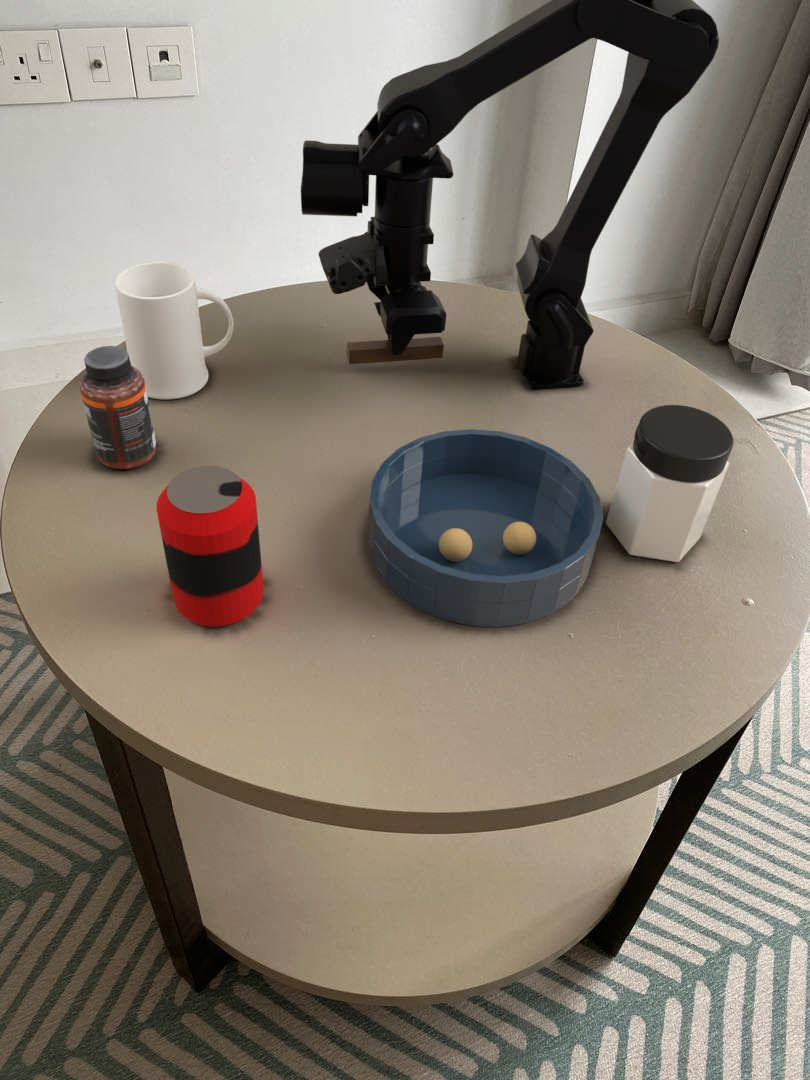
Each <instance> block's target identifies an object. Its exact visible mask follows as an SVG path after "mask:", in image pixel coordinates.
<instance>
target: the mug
mask: <svg viewBox="0 0 810 1080" xmlns="http://www.w3.org/2000/svg"><path fill="white" fill-rule="evenodd" d="M114 289H115V293H116V299H117V304H118V309H119V314H120V320H121V325H122V330H123V336H124V342H125V347H126V351H127V352H128V354H129V359H130V362H131V366H133V367H135V368H137V369H138V370H139V371H140V372H141V374H142V375H143V378H144V381H145V386H146V391H147V396H148V399H149V398H150V399H154V400H164V401H165V400H177V399H183V398H186V397H189V396H191V395H194V394H195V393H197V392H199V391H201V389H203V388H204V387H205V386H206V384H207V383H208V381H209V378H210V377H209V374H210V373H209V370H208V368H207V365H206V358H207V357H210V356H214V355H215V354H217V353H219V352H220V351H221V350H224V348H225V347H226V346H227V345H228V343H229V342H230V340H231V338H232V336H233V333H234V327H235V325H234V317H233V314H232V311H231V309H230V307H229V306H228V304H227V303H226V302H225V301H224V300H223V299H222V298H221V297H220V296H218V294H216V293H214V292H212V291H210V290H207V289H204V288H201V287H198V286H197V285H196V278H195V275H194V273H193V272H192V271H191V270H190V269H189V268H187V267H185V266H182V265H180V264H177V263H171V262H162V261H161V262H160V261H157V262H156V261H154V262H146V263H145V262H144V263H140V264H136V265H133V266H132V265H131V266H130V267H128V268H126V269H124V270H122V271H120V272H119V274H117V275H116V276H115V279H114ZM199 300H207V301H210V302H213V303H215V304H216V305H218V306H219V307H220V308H221V309H222V310H223V311H224V312H225V314H226V316H227V319H228V329H227V332H226V334H225V336H224V337H223V338H222V339H221V340H220V341H219V342H216V343H215V344H213V345H208V346H207V345H205V346H204V344H203V335H202V327H201V320H200V318H201V317H200V311H199V302H198V301H199Z"/></svg>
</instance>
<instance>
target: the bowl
mask: <svg viewBox="0 0 810 1080" xmlns="http://www.w3.org/2000/svg"><path fill="white" fill-rule="evenodd" d="M602 508H603V507H602V503H601V498H600V495H599V494H598V492H597V490H596V488H595V486H594V485H593V483H592V481H591V479H590V478H589V477H588V476H587V475H586V474H585V473H584V471H582V470H581V469H580V468H579V467H578V466H577V465H576V464H575V463H574V462H573V461H572V460H570V459H569V458H567V457H566V456H565V455H563V454H561V453H560V452H558V451H557V450H555V449H554V448H552V447H549V446H547V445H544V444H542V443H540V442H538V441H535V440H532V439H531V438H528V437H525V436H522V435H517V434H514V433H513V434H512V433H508V432H503V431H500V430H487V429H473V428H467V429H455V430H445V431H440V432H436V433H431V434H429V435H425V436H421V437H418V438H416V439H414V440H412V441H410V442H409V443H406V444H404V445H402V446H400V447H398V448H397V449H396V450H395V451H394V452H393V453H391V454H390V455H389V456H388V457H387V458H386V459H385V460H384V461H383V462H381V464H380V466H379V467H378V469H377V471H376V473H375V475H374V476H373V478H372V480H371V486H370V493H369V505H368V529H367V530H368V532H367V533H368V535H367V540H368V547H369V553H370V557H371V559H372V563H373V566H374V567H375V569H376V571H377V572H378V574H379V576H380V577H381V579H382V580H383V581H384V583H386V585H387V587H389V588H390V589H391V590H392V591H393V592H394V593H395V594H396V595H397V596H398V597H400V598H401V599H403V601H406V603H408V604H410V605H412V606H413V607H415V608H417V609H418V610H420V611H422V612H424V613H426V614H428V615H431V616H433V617H435V618H439V619H441V620H444V621H447V622H452V623H456V624H461V625H465V626H473V627H481V628H500V627H501V628H502V627H513V626H518V625H524V624H528V623H531V622H534V621H535V622H536V621H538V620H541V619H543V618H546V617H547V616H550V615H552V614H554V613H556V612H557V611H559V610H561V609H562V608H563V607H565V606H566V605H567V604H568V603H569V602H571V601H572V600H573V599H574V598H575V596H576V595H578V593H579V592H580V591H581V589H582V588H583V586H584V584H585V582H586V580H587V578H588V576H589V573H590V569H591V566H592V562H593V559H594V555H595V551H596V548H597V544H598V541H599V537H600V534H601V529H602V525H603V521H604V514H603V509H602ZM514 522H525V523H527V524H529V525H530V526H531V527H532V528H533V529H534V531H535V533H536V543H535V545H534V547H533V549H532V550H531V551H529V552H528V553H526V554H522V555H517V554H513V553H511V552H510V551H509V550H507V548H506V547H505V545H504V542H503V534H504V531H505V529H506V528H507V527H508V526H509V525H510V524H512V523H514ZM452 528H459V529H462V530H464V531H466V532H467V533H468V534H469V536H470V537H471V540H472V550H471V553H470V554H469V556H468V557H467V558H466V559H464V560H462V561H458V562H453V561H449V560H447V559H446V558H444V557H443V555H442V554H441V552H440V550H439V540H440V538H441V536H442V534H443V533H444V532H446V531H447V530H449V529H452Z"/></svg>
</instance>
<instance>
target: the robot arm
mask: <svg viewBox="0 0 810 1080" xmlns="http://www.w3.org/2000/svg"><path fill="white" fill-rule="evenodd" d="M592 39H595V40H599V41H602V42H605V43H607V44H609V45H611V46H614V47H616V48H618V49H620V50H622V51H625V52H627V58H626V63H625V69H624V75H623V81H622V86H621V90H620V94H619V97H618V99H617V101H616V103H615V105H614V107H613V109H612V111H611V113H610V115H609V117H608V119H607V121H606V123H605V125H604V128H602V131H601V133H600V135H599V138H598V140H597V142H596V144H595V146H594V147H593V149H592V152H591V154H590V156H589V157H588V160H587V161H586V164H585V166H584V168H583V170H582V172H581V174H580V175H579V178H578V180H577V182H576V184H575V185H574V186H575V187H574V189H573V190H572V192H571V195H570V197H569V199H568V200H567V203H566V205H565V207H564V209H563V211H562V212H561V216H560V217H559V219H558V220H557V223H556V225H555V226H554V228H553V229H552V230H551V231H550V232H548V233H547V234H546V235H545V236H544V237H543V238H540V237H539V236H537V235H535V234H530V235H529V238H528V240H527V244H526V248H525V250H524V253H523V255H522V256H521V258H520V259H519V260H518V261H517V262H516V263H515V268H516V272H517V277H516V282H517V287H518V291H519V295H520V298H521V302H522V305H523V308H524V311H525V314H526V317H527V318H528V320H527V325H526V330H525V333H522V335H521V336H520V343H519V349H518V354H517V356H516V357H515V362H516V365H517V367H518V369H519V371H520V373H521V375H522V376H523V377H524V379H525V381H526V382H527V384H528V386H529V388H531V389H533V390H534V389H535V390H539V389H551V388H554V389H555V388H566V387H579V386H583V385H584V382H585V380H584V378H583V377H582V375H581V374H580V370H581V366H582V361H583V357H584V354H585V353H584V352H585V348H586V345H587V343H588V341H589V340H590V339H591V337H592V335H593V334H594V328H593V325H592V322H591V320H590V318H589V315H588V312H587V310H586V307H585V304H584V301H583V299H582V296H583V293H584V290H585V287H586V284H587V283H586V282H587V277H588V271H589V266H590V261H591V260H590V259H591V255H592V252H593V249H594V247H595V245H596V244H597V242H598V239H599V237H600V236H601V234H602V232H603V230H604V229H605V226H606V225H607V222H608V221H609V219H610V217H611V215H612V213H613V211H614V209H615V208H616V206H617V204H618V202H619V200H620V198H621V196H622V194H623V192H624V190H625V188H626V187H627V185H628V183H629V181H630V179H631V178H632V176H633V173H634V172H635V170H636V167H638V166H637V165H638V164H639V162H640V160H641V158H642V156H643V155H644V153H645V151H646V148H647V147H648V145H649V143H650V141H651V139H652V137H653V136H654V134H655V132H656V130H657V128H658V126H659V125H660V122H661V120H663V118H664V117H665V115H667V114H668V113H669V112H670V111H671V110H673V108H674V107H675V106H676V105H678V104H679V103H680V102H681V101H682V100H683V99H684V98H685V97H687V96H688V95H689V93H690V92H691V91H692V90H693V88H694V87H695V85H696V84H697V83H698V82H699V80H700V78H701V77H702V76H703V74H704V73H705V72H706V70H707V69H708V68H709V66H710V65H711V63H712V62H713V60H714V59H715V56H716V53H717V51H718V48H719V44H720V38H719V31H718V26H717V24H716V22H715V20H714V18H713V17H712V16H711V15H710V14H709V13H708V12H707V11H706V10H705V9H703V7H701V6H700V5H699V4H698V3H696V1H694V0H549V1H547V2H546V3H545V4H543V5H541V6H540V7H538V8H537V9H535V10H533V11H531V12H529V13H528V14H526V15H524V16H523V17H522V18H520V19H517V20H516V21H514V23H511V24H510V25H508V26H506V27H504V29H501V30H500V31H498V32H497V33H495V34H494V35H492V36H490V37H489V38H487V39H485V40H483V41H482V42H480V43H479V44H477V45H475V46H474V47H471V48H470V49H469V50H467V51H465V52H464V53H462V54H460V55H459V56H456V57H454V58H450V59H449V60H445V61H441V62H435V63H430V64H425V65H423V66H420V67H417V68H414V69H413V70H410V71H407V72H404V73H402V74H399V75H397V76H394V77H393V78H391V79H390V80H389V81H388V82H386V83H385V84H384V86H383V87H382V88H381V90H380V93H379V95H378V100H377V107H376V108H377V111H376V112H375V113H374V114H373V116H372V117H371V119H370V120H369V121H368V122H367V123H366V125H365V126H364V128H363V129H362V130H361V132H360V133H359V134H358V136H357V144H351V143H349V144H347V143H329V142H327V143H326V142H322V141H318V140H308V139H307V140H305V141H303V144H302V172H301V181H300V207H301V215H304V216H326V217H327V216H332V217H356V218H357V217H358V214H363V207H369V202H370V201H369V200H370V199H369V197H370V196H369V195H370V176H375V187H374V188H375V189H374V190H375V192H374V216H370V220H368V221H367V231H365V232H364V233H363V234H360V235H354V236H350V237H347V238H345V239H343V240H341V241H337V242H334V243H333V244H330V245H327V246H325V247H323V248H321V249H319V251H318V258H319V261H320V265H321V267H322V270H323V272H324V275H325V278H326V280H327V282H328V285H329V287H330V290H331V292H332V293H333V294H334V295H342V294H344V293H348V292H351V291H354V290H356V289H358V288H361V287H362V288H363V287H364V286H365V285H367V288H368V290H369V291H370V293H372V294H373V295H374V296H375V297H376V298H377V299H378V300H379V301H374V302H373V304H374V307H375V310H376V312H377V314H378V316H379V317H380V320H381V321H380V322H381V323H382V327H383V329H384V332H385V334H386V336H387V340H390V341H391V348H392V353H393V355H401V354H403V352H404V350H405V349H406V347H407V346H408V344H409V343H410V341H411V339H412V338H414V336H415V335H416V336H417V335H430V334H442V333H443V332H445V330H446V323H447V312H446V310H445V308H444V305H443V303H442V301H441V299H440V297H439V296H438V295H437V294H436V293H434V292H433V290H431V289H430V290H428V288H427V286H424V285H422V283H423V282H431V277H432V271H431V269H430V267H429V265H428V253H429V252H428V251H429V245H434V238H435V234H434V232H433V231H432V228H431V226H430V225H431V212H432V210H431V209H432V197H433V184H434V179H452V178H453V177H454V170H453V166H452V161H451V159H450V158H449V157H448V156H447V155H445V153H444V152H443V151H442V149H441V146H440V145H439V143H440V142H442V140H443V139H445V138H446V137H447V136H448V135H450V134H451V133H452V132H453V131H454V130H455V128H457V126H458V125H459V124H460V123H461V122H462V121H463V119H464V118H465V117H466V116H467V115H468V114H469V113H470V112H471V111H473V109H474V108H476V107H477V106H478V105H479V104H480V103H483V102H485V101H486V100H488V99H490V98H492V97H493V96H495V95H497V94H499V93H500V92H501V91H504V90H505V89H507V88H509V87H510V86H512V85H514V84H515V83H517V82H519V81H520V80H523V79H524V78H525V77H527V76H529V75H531V74H533V73H535V72H536V71H537V70H539V69H541V68H543V67H544V66H546V65H547V64H549V63H551V62H554V61H555V60H556V59H558V58H560V57H562V56H563V55H565V54H567V53H568V52H570V51H572V50H573V49H576V48H577V47H579V46H581V45H582V44H584V43H586V42H587V41H589V40H592Z"/></svg>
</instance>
